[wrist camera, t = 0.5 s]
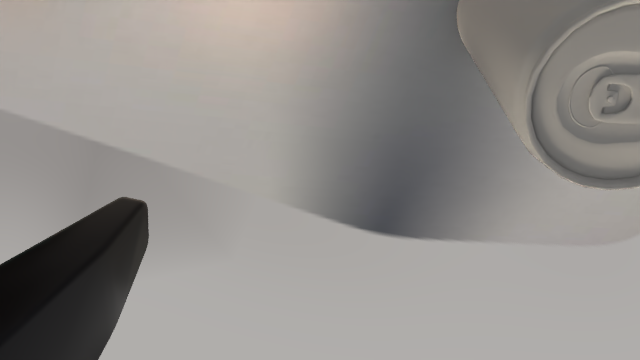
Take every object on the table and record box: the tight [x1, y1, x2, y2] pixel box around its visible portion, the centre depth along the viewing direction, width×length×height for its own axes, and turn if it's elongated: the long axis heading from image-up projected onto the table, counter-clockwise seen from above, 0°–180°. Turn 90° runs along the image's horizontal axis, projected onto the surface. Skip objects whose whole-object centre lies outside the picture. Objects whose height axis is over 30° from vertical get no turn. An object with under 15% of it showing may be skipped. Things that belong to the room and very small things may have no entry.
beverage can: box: [457, 0, 640, 190], centre depth 17 cm, size 5×5×12 cm
